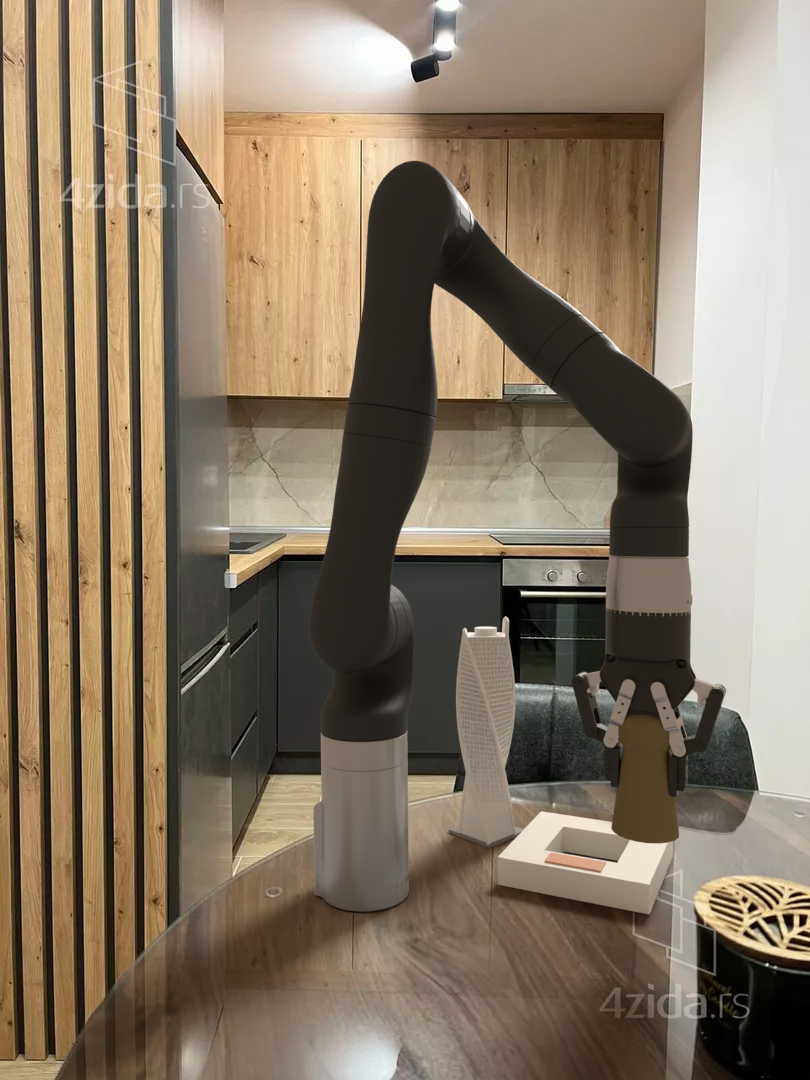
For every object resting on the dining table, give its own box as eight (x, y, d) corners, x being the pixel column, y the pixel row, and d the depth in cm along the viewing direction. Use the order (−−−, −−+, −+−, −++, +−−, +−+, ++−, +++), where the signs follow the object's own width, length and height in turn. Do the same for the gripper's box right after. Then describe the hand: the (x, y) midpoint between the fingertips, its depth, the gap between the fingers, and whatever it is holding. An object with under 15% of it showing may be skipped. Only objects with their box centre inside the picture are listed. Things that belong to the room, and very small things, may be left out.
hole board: (497, 884, 87) (497, 855, 87) (541, 834, 101) (541, 809, 101) (649, 914, 79) (649, 882, 79) (673, 856, 94) (672, 829, 94)
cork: (683, 846, 70) (685, 721, 70) (613, 840, 71) (614, 717, 71) (674, 822, 76) (676, 707, 76) (609, 816, 77) (610, 703, 77)
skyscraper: (534, 836, 100) (532, 614, 100) (492, 853, 95) (489, 619, 95) (485, 819, 107) (483, 610, 107) (442, 834, 101) (440, 614, 101)
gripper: (560, 604, 73) (558, 789, 73) (727, 613, 67) (724, 815, 67) (581, 599, 80) (579, 768, 80) (734, 606, 74) (732, 790, 74)
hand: (645, 789), depth 74 cm, fingers closed on cork, 4 cm apart
